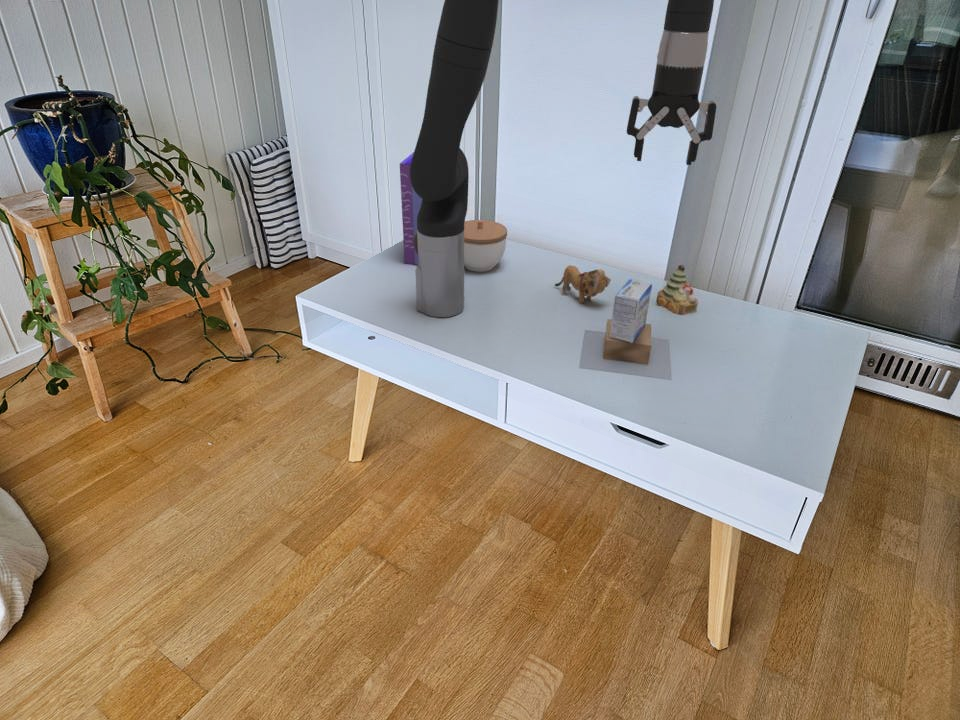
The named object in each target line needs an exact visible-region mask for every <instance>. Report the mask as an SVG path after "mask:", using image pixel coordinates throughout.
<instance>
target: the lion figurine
mask: <svg viewBox="0 0 960 720" xmlns="http://www.w3.org/2000/svg"><path fill="white" fill-rule="evenodd" d="M611 281H612V279H611V278H609V277H608V276H607V275H606V272H605V270H604V269H598V268H597V269H594V270H590V271H584V272H582V273H581V272H580V271H579V268H578V267H577V266H575V265H571V264H569V265H568V266H566V267H565V269H564V272H563V276H562V279H561V280H560V282H557V283H555V284H554V286H555V287H560V286H561V285H562V288H561V289H562V291H561V292H562V293H561V296H566V297H567V296H568V295H567V292H566V290H567V291H568V290H569V291H570V290H571V289H572V288H573V289H574V290H576V291H578V299H579V300H578V304H580V305H583V304H584V303H585V302H584V301H585V300H586V301H587V302H588V301H589V302H590V301H591V298H592V297H596V296H597V295H598V294H602V293H603V292H604V291H605V289H606V288H608V285H610V283H611ZM570 284H571V285H572V287H571V286H570ZM585 297H586V299H585Z"/></svg>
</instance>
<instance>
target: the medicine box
mask: <svg viewBox="0 0 960 720" xmlns="http://www.w3.org/2000/svg"><path fill="white" fill-rule="evenodd" d="M652 289H653V284H652V283H650V282H647V281H643V280H638V279H631V278H629V279H628V281H626V283H624V285H623V286H622V287H621V289H620V290H619V291H618V292H617V293H616V294H615V295H614V300H613V306H612V307H613V308H612V316H611V319H612V321H611V329H610V337H611V338H614V339H618V340H622V341H626V342H630V343H633V342H634V340H635V339H636V337H637V336H638V335H639V333H640V332H641V330H642V329H643V327H644V326H645V324H646V323H647V318H648V310H649V307H650V306H649V305H650V300H651V294H652Z"/></svg>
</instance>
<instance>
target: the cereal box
mask: <svg viewBox="0 0 960 720" xmlns="http://www.w3.org/2000/svg"><path fill="white" fill-rule="evenodd" d="M413 154H414V152H412V153H411V154H409V155H408V156H407V157H406V158H405V159H403V160H402V161H401V162H400V163H399V177H400V180H399V181H400V196H401V197H400V200H401V217H402V219H401V220H402V237H403V239H402V240H403V255H404V259H403V260H404V265H408V266H409V265H410V266H416V267H417V266H418V265H419V264H418V239H417V215H418V213H419V210H420V207H421V203H422V198H421V197H419V196H418V195H417V194H416V192H415V191H414V189H413V187H412V184H411V181H410V174H409V172H410V165H411V161H412V157H413Z"/></svg>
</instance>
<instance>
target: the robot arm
mask: <svg viewBox="0 0 960 720" xmlns="http://www.w3.org/2000/svg"><path fill="white" fill-rule="evenodd" d="M714 3H715V0H668V1H667V5H666V11H665V17H664V23H663V30H662V36H661V39H660V42H659V46H658V51H657V52H658V53H657V55H656V66H655V72H654V80H653V86H652V93H651V95H650V98H641V97H639V96H638V95H636V96H633V97H632V100H631V105H630V110H629V111H630V112H629V115H628V122H627V126H626V134H627V135H628V136H631V137H634V138H635V144H634V150H633V156H634V158H636V162H642V157H643V150H644V143H645V137H646V136H647V135H648V134H649V132H651V131H652V130H653V129H654V128H655V127H656V126H657V125H658V126H659V127H660V128H669V127H671V128H674V129H680V128H681V127H685V129H686V131H687V134H689V137H690V138H691V140H689V145H688V150H687V156H686V160H685V161H686V162H685V163H686V166H691V165H692V163H695V162H696V161H697V157H698V156H697V155H698V150H699V145H700V144H701V143H702V142H704V141H711V139H713V133H714V128H715V120H716V113H717V104H716V102H715V101H714V100H709V101H704V102H703V101H699V93H700V89H701V83H702V78H703V73H704V68H705V62H706V58H707V53H708V46H709V45H708V43H709V32H710V27H711V22H712V15H713V12H714ZM442 6H443V7H442V9H441V15H440V20H439V23H438V28H437V32H436V36H435V37H436V38H435V43H434V49H433V54H432V55H433V56H432V60H431V61H432V62H431V68H430V75H429V80H428V86H427V93H426V98H425V107H424V112H423V119H422V123H421V126H420V130H419V134H418V137H417V140H416V141H417V142H416V144H415V148H414V154H413V157H412V161H411V165H410V172H409V174H410V181H411V184H412V187H413V189H414V191H415V192H416V194H417V195H418V196H419V197H421V198H422V203H421V207H420V210H419V213H418V215H417V239H418V264H419V265H418V266H417V265H416V268H415V291H416V292H415V294H416V312H420V313H421V312H422V313H423V314H425V315H426V316H430V317H435V318H448V317H449V318H450V317H454V316H456V315H458V314H461V313H462V312H463V311H464V309H465V266H464V222H465V221H466V216H467V213H468V206H469V205H468V203H469V178H470V177H469V175H470V174H469V173H470V172H469V164H468V160H467V157H466V155H465V152H464V151H463V150H462V149H461V142H462V136H463V132H464V129H465V126H466V123H467V121H468V119H469V116H470V114H471V112H472V110H473V108H474V105H475V103H476V101H477V99H478V96H479V94H480V91H481V89H482V86H483V83H484V81H485V78H486V76H487V75H486V74H487V70H488V67H489V61H490V58H491V54H492V49H493V44H494V39H495V33H496V26H497V21H498V20H497V19H498V12H499V11H498V10H499V0H444V1H443V5H442ZM645 107H647V109H648V111H649V113H650V114H651V115H650V116H649V117H648V118H647V120H646V121H645V122H644V123H643V124H642V126H641V127H639V128H638V127H636V121H637V116H638V113H641V112H643V110H644V108H645ZM699 110H701V114H702V115H703V116H704V117H705V121H704V129H703V131H700V132H698V130H697V128H696V127H695V125H694V124H695V123H694V122H693V120H692V119H691V118H692V117H693V116H694V115H695V114H697V112H699Z"/></svg>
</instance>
